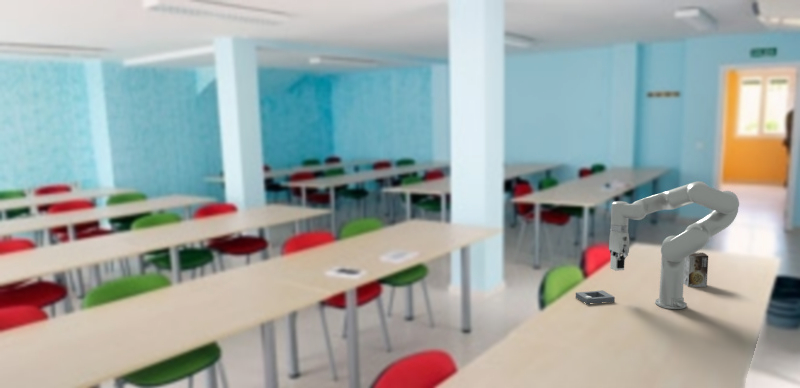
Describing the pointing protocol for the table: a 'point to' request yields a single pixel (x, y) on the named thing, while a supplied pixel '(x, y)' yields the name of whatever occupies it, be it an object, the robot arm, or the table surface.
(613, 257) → the plug
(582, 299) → the socket plate
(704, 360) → the table surface
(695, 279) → the coffee box
